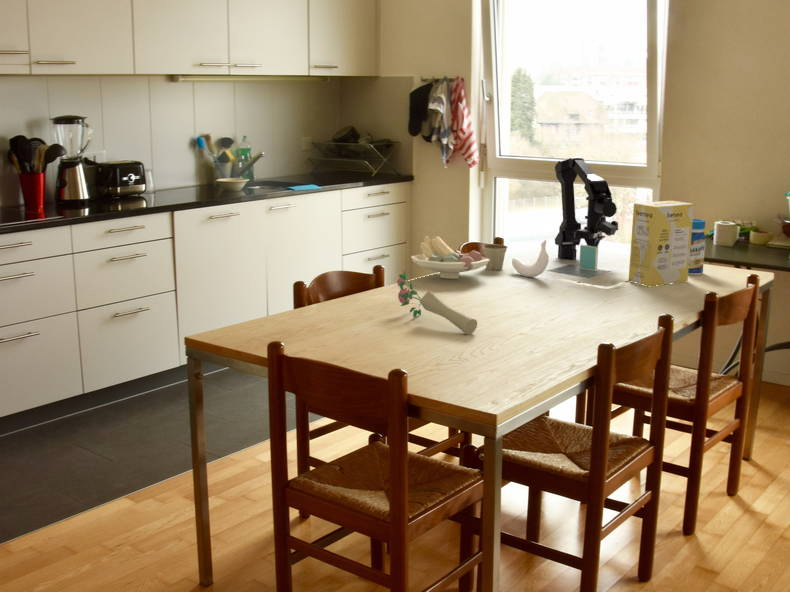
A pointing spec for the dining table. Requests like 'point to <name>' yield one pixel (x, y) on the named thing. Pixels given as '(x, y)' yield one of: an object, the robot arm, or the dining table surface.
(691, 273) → the beverage bottle
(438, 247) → the dish with food
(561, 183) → the robot arm
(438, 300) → the flower vase
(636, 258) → the pasta box
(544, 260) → the banana
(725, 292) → the dining table surface
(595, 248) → the tile
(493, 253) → the flower pot
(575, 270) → the slate board
